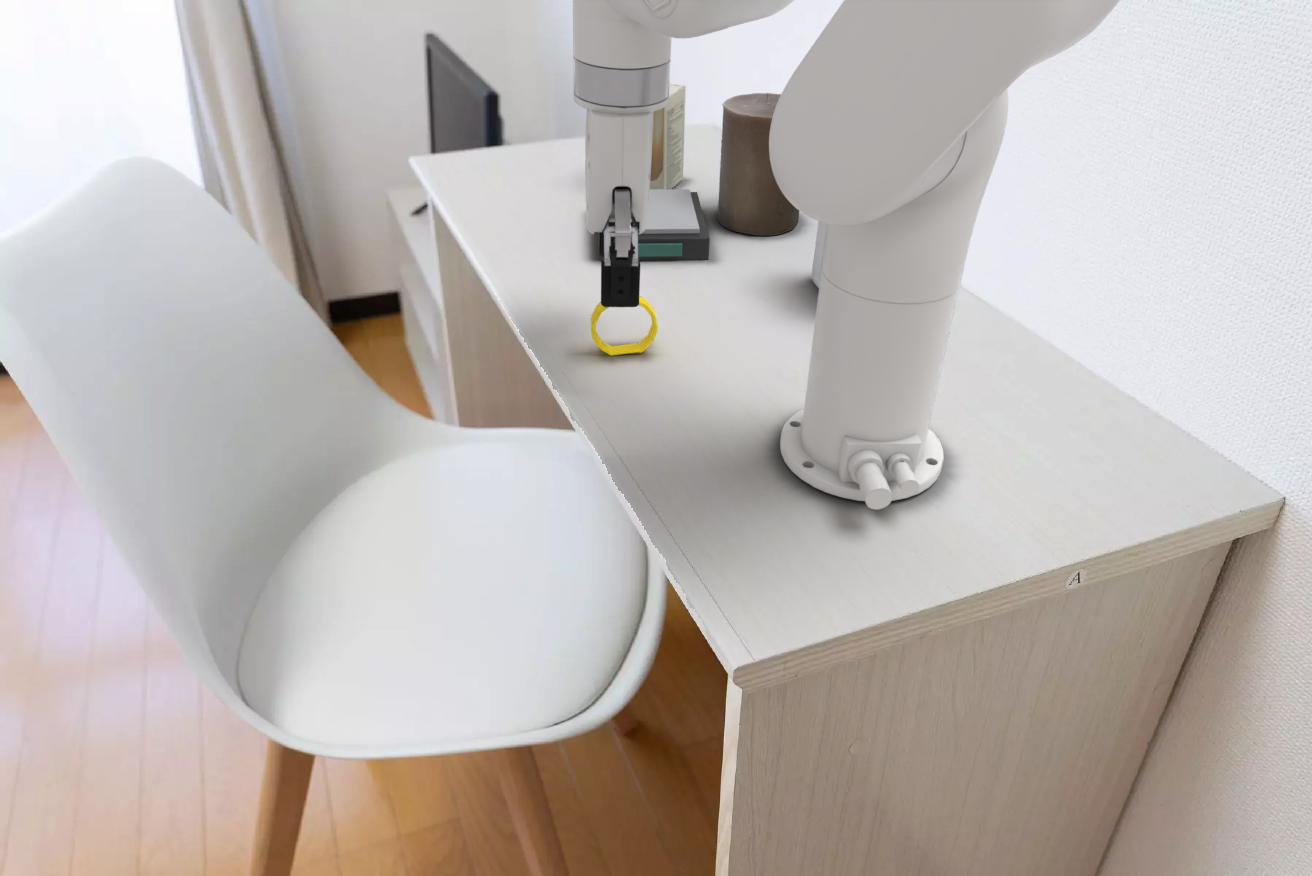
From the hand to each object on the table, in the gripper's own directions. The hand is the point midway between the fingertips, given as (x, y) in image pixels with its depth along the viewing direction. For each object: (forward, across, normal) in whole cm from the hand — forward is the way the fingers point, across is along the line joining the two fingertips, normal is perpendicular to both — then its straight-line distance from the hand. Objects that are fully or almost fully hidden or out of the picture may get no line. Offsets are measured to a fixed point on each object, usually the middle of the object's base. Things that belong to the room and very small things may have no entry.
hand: (618, 279), depth 85 cm
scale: (+7, -26, +5) cm, 28 cm away
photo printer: (+7, -9, +24) cm, 26 cm away
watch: (+7, +1, +1) cm, 7 cm away
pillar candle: (+7, -30, +18) cm, 36 cm away
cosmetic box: (+8, -42, +7) cm, 44 cm away
